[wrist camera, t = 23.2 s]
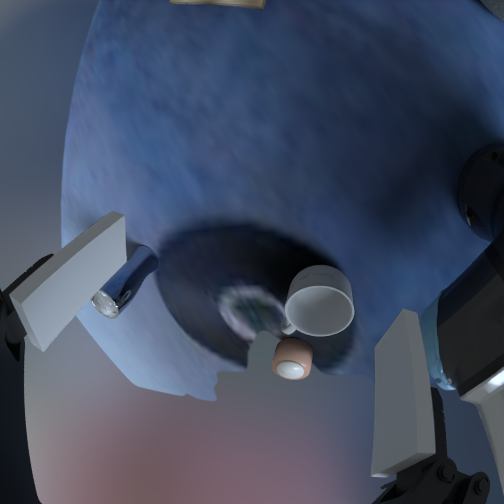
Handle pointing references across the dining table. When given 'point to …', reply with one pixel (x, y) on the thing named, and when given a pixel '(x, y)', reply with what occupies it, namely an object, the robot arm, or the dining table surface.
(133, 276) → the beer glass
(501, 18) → the planter
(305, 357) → the tealight holder
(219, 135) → the dining table surface
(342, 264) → the dining table surface
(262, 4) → the oak board
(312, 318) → the teacup
